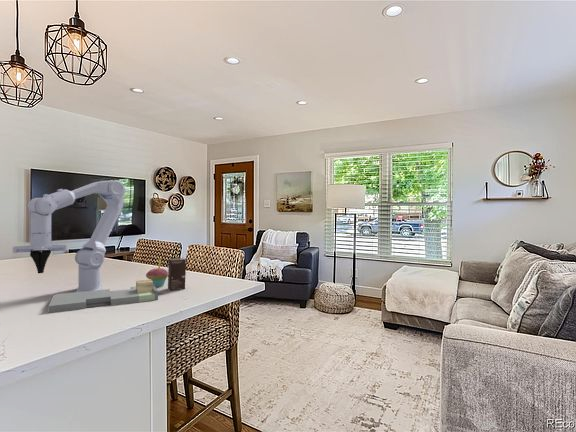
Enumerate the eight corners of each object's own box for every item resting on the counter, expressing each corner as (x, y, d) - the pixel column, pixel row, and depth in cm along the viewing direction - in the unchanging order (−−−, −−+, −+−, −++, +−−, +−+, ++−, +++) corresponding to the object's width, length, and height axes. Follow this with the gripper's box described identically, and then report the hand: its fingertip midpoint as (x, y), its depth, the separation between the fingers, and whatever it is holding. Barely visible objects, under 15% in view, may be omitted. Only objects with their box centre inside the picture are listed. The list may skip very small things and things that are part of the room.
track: (54, 300, 109) (54, 290, 109) (151, 290, 125) (151, 281, 125) (48, 312, 96) (48, 302, 96) (157, 299, 112) (158, 290, 112)
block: (136, 289, 118) (136, 280, 118) (150, 288, 120) (150, 278, 120) (137, 292, 113) (137, 283, 113) (152, 291, 116) (152, 281, 116)
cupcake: (172, 285, 134) (172, 256, 134) (154, 289, 127) (154, 259, 127) (159, 282, 139) (160, 254, 138) (141, 286, 131) (141, 257, 131)
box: (170, 290, 125) (170, 260, 124) (167, 288, 128) (168, 258, 128) (186, 289, 128) (186, 259, 128) (182, 286, 132) (183, 257, 131)
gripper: (10, 234, 102) (10, 276, 102) (65, 233, 109) (65, 273, 109) (15, 232, 108) (15, 272, 108) (67, 232, 115) (67, 269, 115)
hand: (40, 272), depth 109 cm, fingers closed
